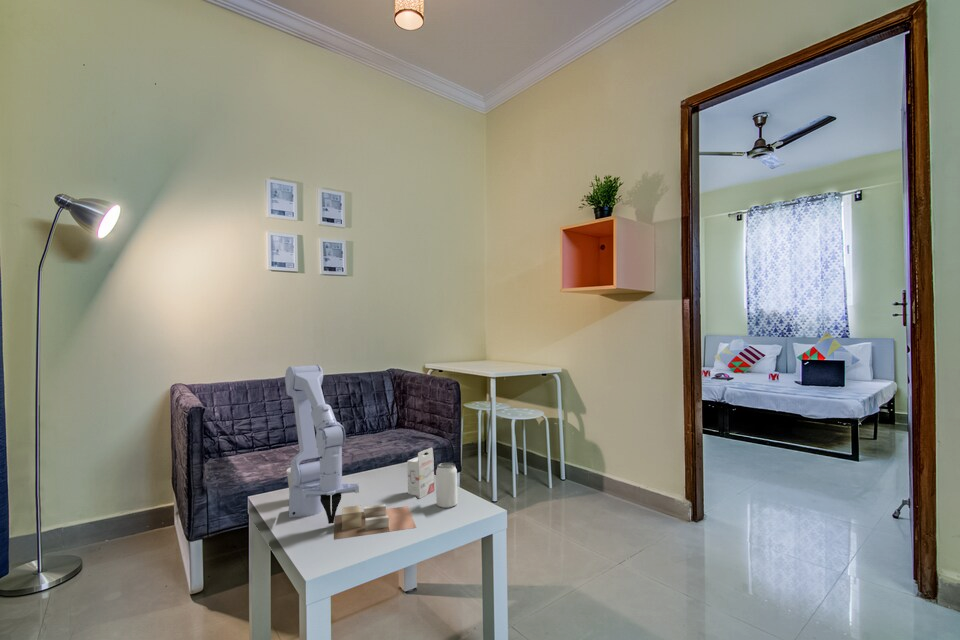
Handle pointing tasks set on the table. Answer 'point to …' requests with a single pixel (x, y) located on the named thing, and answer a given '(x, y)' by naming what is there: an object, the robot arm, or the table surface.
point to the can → (446, 485)
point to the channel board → (376, 521)
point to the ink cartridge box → (421, 474)
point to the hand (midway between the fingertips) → (331, 521)
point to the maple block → (351, 517)
